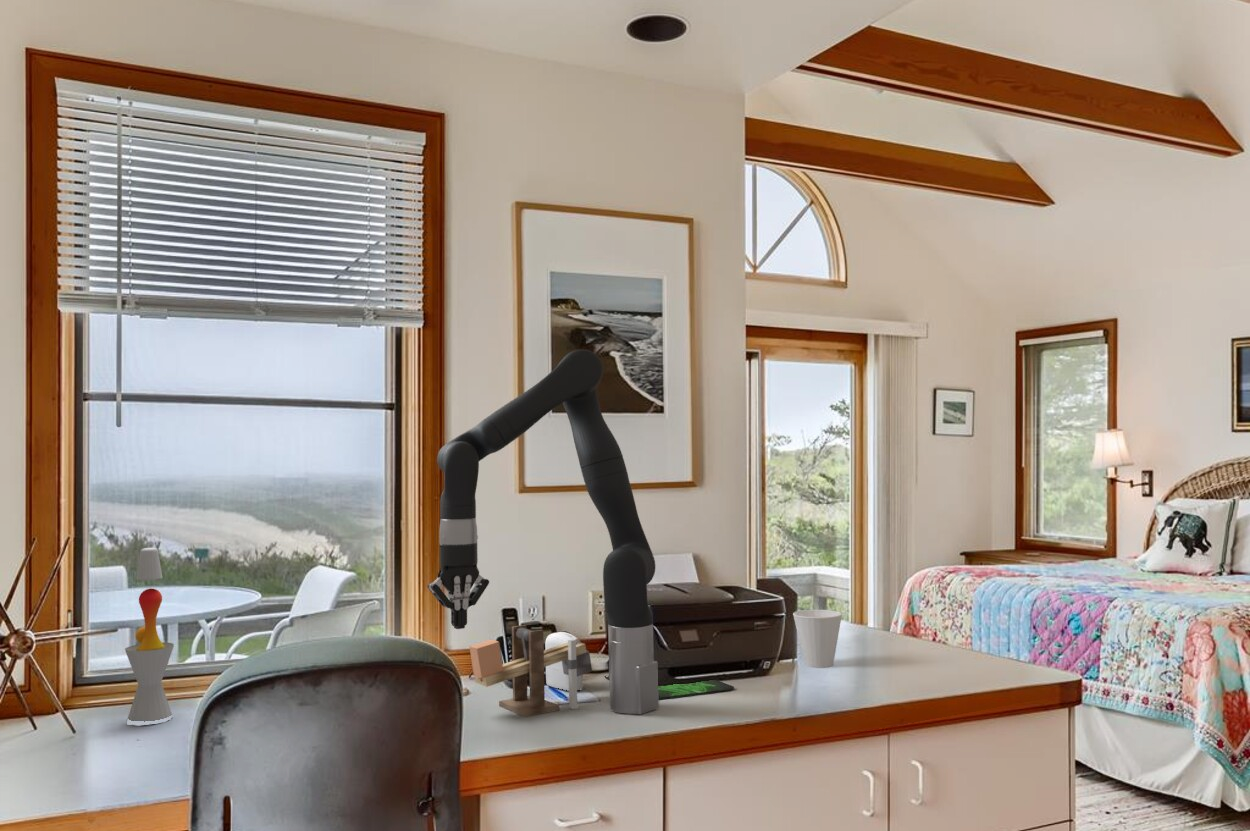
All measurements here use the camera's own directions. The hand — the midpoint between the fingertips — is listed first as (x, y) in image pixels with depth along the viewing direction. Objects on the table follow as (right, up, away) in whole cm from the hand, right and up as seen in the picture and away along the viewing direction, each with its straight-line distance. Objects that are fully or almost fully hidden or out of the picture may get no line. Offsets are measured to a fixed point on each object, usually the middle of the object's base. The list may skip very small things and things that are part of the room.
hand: (459, 628), depth 197 cm
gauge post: (+22, -18, +7) cm, 30 cm away
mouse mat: (+43, -19, +28) cm, 54 cm away
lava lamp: (-64, -20, +5) cm, 67 cm away
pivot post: (+13, -18, +8) cm, 24 cm away
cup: (+80, -18, +43) cm, 93 cm away
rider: (+5, -10, +3) cm, 12 cm away
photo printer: (+19, -19, +25) cm, 37 cm away
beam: (+15, -14, +9) cm, 23 cm away
